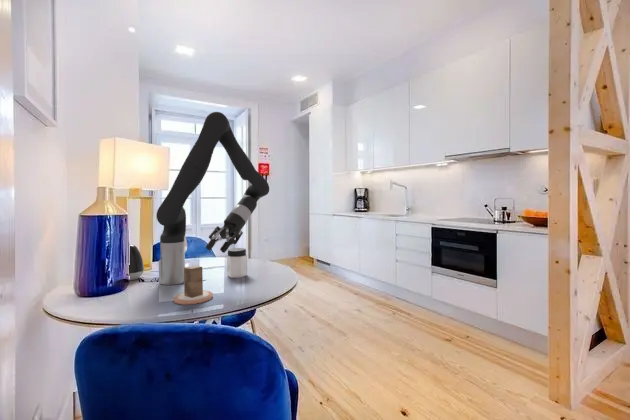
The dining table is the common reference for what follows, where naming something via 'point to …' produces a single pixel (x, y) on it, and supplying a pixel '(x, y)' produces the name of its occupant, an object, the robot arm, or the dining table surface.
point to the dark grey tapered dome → (135, 263)
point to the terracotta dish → (188, 300)
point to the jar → (236, 263)
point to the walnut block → (193, 281)
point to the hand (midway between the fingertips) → (214, 250)
